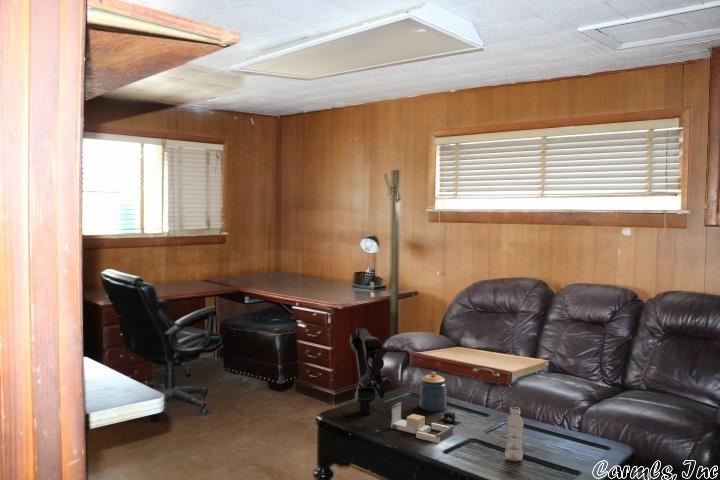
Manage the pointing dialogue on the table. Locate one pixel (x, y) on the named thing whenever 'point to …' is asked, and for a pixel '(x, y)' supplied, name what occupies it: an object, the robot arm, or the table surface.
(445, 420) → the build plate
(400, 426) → the trolley
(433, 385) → the canister
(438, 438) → the bay
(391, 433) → the table surface
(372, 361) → the robot arm
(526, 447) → the table surface
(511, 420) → the plastic bottle
